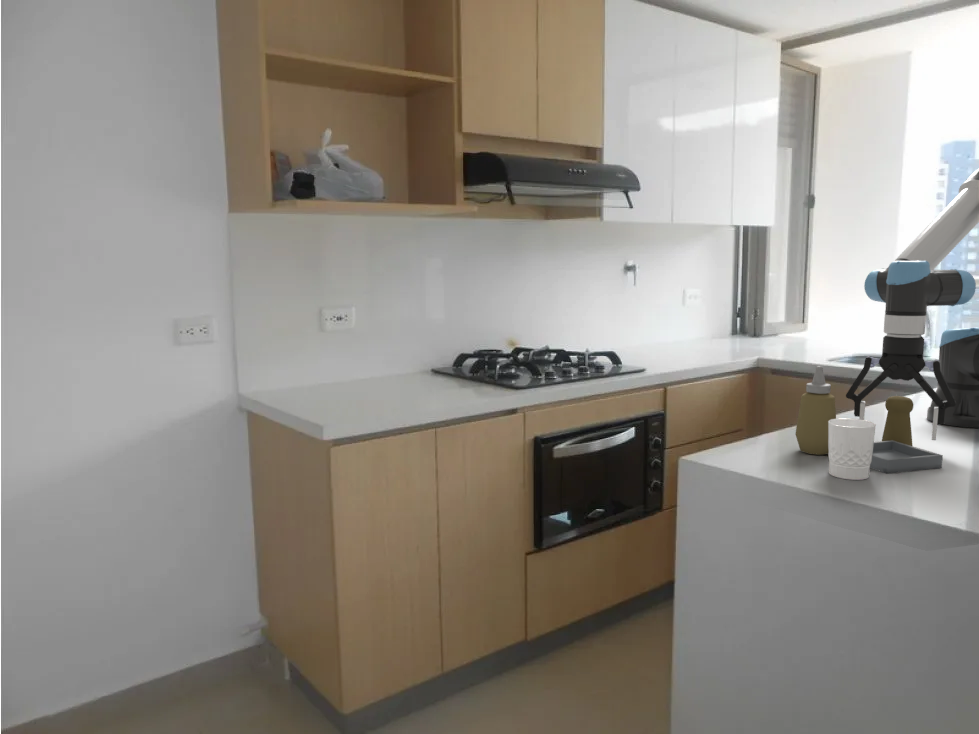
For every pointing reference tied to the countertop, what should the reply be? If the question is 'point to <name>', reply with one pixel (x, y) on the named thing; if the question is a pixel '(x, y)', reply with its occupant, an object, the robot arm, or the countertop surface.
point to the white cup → (850, 448)
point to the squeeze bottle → (815, 415)
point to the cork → (898, 420)
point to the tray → (902, 457)
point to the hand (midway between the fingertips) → (896, 435)
